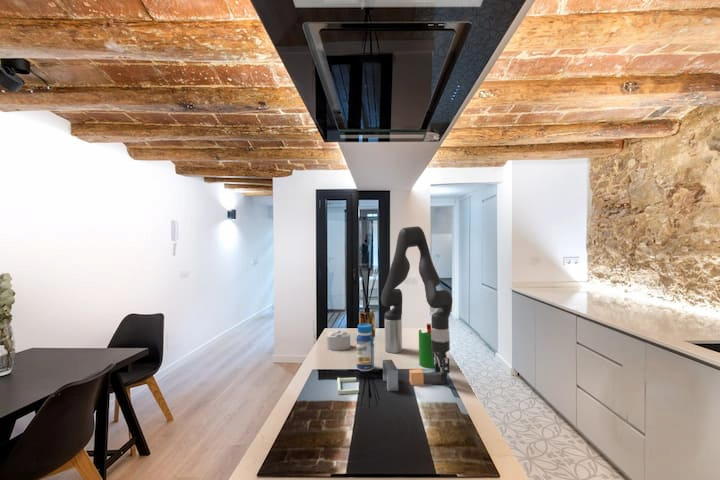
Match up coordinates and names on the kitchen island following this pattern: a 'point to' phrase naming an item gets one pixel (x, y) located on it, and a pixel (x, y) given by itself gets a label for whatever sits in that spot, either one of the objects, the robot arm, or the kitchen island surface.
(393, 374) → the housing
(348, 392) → the light grey u-shaped piece
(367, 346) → the beverage bottle
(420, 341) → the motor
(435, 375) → the plug
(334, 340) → the lumpy-topped squat cylinder
